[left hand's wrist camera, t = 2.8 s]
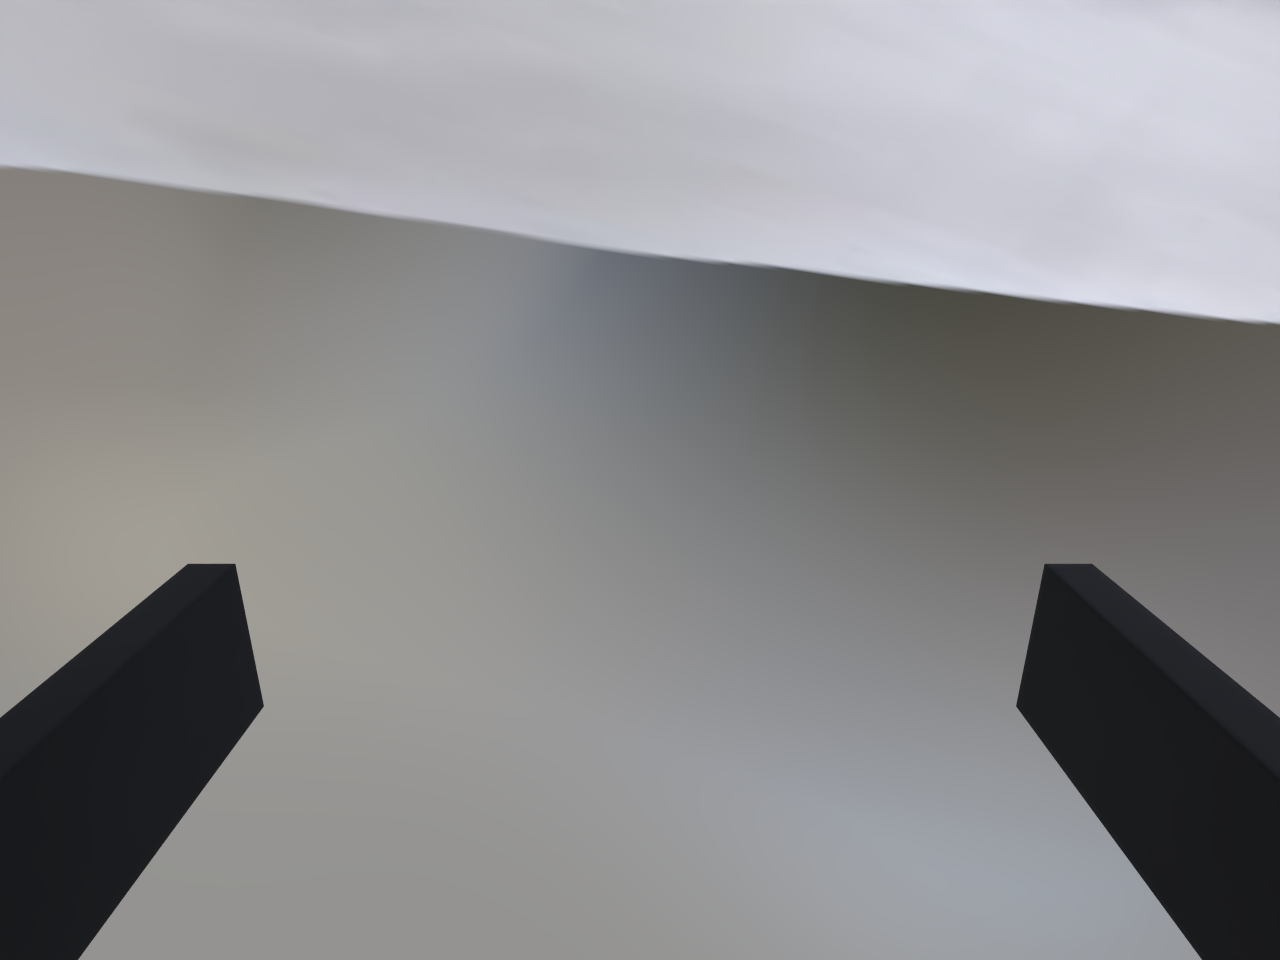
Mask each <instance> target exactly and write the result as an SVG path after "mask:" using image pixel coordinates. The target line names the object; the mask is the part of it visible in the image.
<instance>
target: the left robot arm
mask: <svg viewBox="0 0 1280 960" xmlns="http://www.w3.org/2000/svg"><path fill="white" fill-rule="evenodd" d="M263 707H264V705H263V700H262V695H261V690H260V685H259V680H258V675H257V670H256V665H255V660H254V655H253V650H252V645H251V640H250V635H249V630H248V625H247V620H246V615H245V610H244V605H243V600H242V595H241V590H240V585H239V580H238V575H237V570H236V565H235V564H187V565H186V566H185V567H184V568H182V569H181V570H180V571H179V572H178V573H176V574H175V575H174V576H173V577H171V578H170V579H169V580H168V581H167V582H165V583H164V584H163V585H162V586H161V587H159V588H158V589H157V590H156V591H154V592H153V593H152V594H151V595H150V596H148V597H147V598H146V599H145V600H143V601H142V602H141V603H140V604H139V605H137V606H136V607H135V608H134V609H132V610H131V611H130V612H129V613H128V614H126V615H125V616H124V617H123V618H121V619H120V620H119V621H118V622H117V623H115V624H114V625H113V626H112V627H110V628H109V629H108V630H107V631H106V632H104V633H103V634H102V635H101V636H99V637H98V638H97V639H96V640H95V641H93V642H92V643H91V644H90V645H89V646H87V647H86V648H85V649H84V650H82V651H81V652H80V653H79V654H78V655H76V656H75V657H74V658H73V659H71V660H70V661H69V662H68V663H67V664H65V665H64V666H63V667H62V668H60V669H59V670H58V671H57V672H56V673H54V674H53V675H52V676H51V677H50V678H48V679H47V680H46V681H45V682H43V683H42V684H41V685H40V686H39V687H37V688H36V689H35V690H34V691H32V692H31V693H30V694H29V695H28V696H26V697H25V698H24V699H23V700H21V701H20V702H19V703H18V704H17V705H15V706H14V707H13V708H12V709H11V710H9V711H8V712H7V713H6V714H4V715H3V716H2V717H1V718H0V960H78V959H79V958H80V956H81V955H82V953H83V952H84V951H85V949H86V948H87V947H88V945H89V944H90V942H91V941H92V940H93V938H94V937H95V936H96V934H97V933H98V932H99V930H100V929H101V927H102V926H103V925H104V923H105V922H106V921H107V919H108V918H109V917H110V915H111V914H112V913H113V911H114V910H115V908H116V907H117V906H118V904H119V903H120V902H121V900H122V899H123V897H124V896H125V895H126V893H127V892H128V891H129V889H130V888H131V887H132V885H133V884H134V883H135V881H136V880H137V878H138V877H139V876H140V874H141V873H142V872H143V870H144V869H145V867H146V866H147V865H148V863H149V862H150V861H151V859H152V858H153V857H154V855H155V854H156V853H157V851H158V850H159V848H160V847H161V846H162V844H163V843H164V842H165V840H166V839H167V838H168V836H169V835H170V833H171V832H172V831H173V829H174V828H175V827H176V825H177V824H178V823H179V821H180V820H181V818H182V817H183V816H184V814H185V813H186V812H187V810H188V809H189V808H190V806H191V805H192V803H193V802H194V801H195V799H196V798H197V797H198V795H199V794H200V792H201V791H202V790H203V788H204V787H205V786H206V784H207V783H208V782H209V780H210V779H211V778H212V776H213V775H214V773H215V772H216V771H217V769H218V768H219V767H220V765H221V764H222V763H223V761H224V760H225V758H226V757H227V756H228V754H229V753H230V752H231V750H232V749H233V748H234V746H235V745H236V743H237V742H238V741H239V739H240V738H241V737H242V735H243V734H244V733H245V731H246V730H247V728H248V727H249V726H250V724H251V723H252V722H253V720H254V719H255V718H256V716H257V715H258V713H259V712H260V711H261V709H262V708H263ZM1016 707H1017V708H1018V709H1019V711H1020V712H1021V713H1022V715H1023V716H1024V718H1025V719H1026V720H1027V722H1028V723H1029V724H1030V726H1031V727H1032V728H1033V730H1034V731H1035V733H1036V734H1037V735H1038V737H1039V738H1040V739H1041V741H1042V742H1043V743H1044V745H1045V746H1046V748H1047V749H1048V750H1049V752H1050V753H1051V754H1052V756H1053V757H1054V758H1055V760H1056V761H1057V763H1058V764H1059V765H1060V767H1061V768H1062V769H1063V771H1064V772H1065V773H1066V775H1067V776H1068V778H1069V779H1070V780H1071V782H1072V783H1073V784H1074V786H1075V787H1076V788H1077V790H1078V791H1079V793H1080V794H1081V795H1082V797H1083V798H1084V799H1085V801H1086V802H1087V803H1088V805H1089V806H1090V808H1091V809H1092V810H1093V812H1094V813H1095V814H1096V816H1097V817H1098V818H1099V820H1100V821H1101V823H1102V824H1103V825H1104V827H1105V828H1106V829H1107V831H1108V832H1109V833H1110V835H1111V836H1112V838H1113V839H1114V840H1115V842H1116V843H1117V844H1118V846H1119V847H1120V848H1121V850H1122V851H1123V853H1124V854H1125V855H1126V857H1127V858H1128V859H1129V861H1130V862H1131V863H1132V865H1133V866H1134V868H1135V869H1136V870H1137V872H1138V873H1139V874H1140V876H1141V877H1142V878H1143V880H1144V881H1145V882H1146V884H1147V885H1148V887H1149V888H1150V889H1151V891H1152V892H1153V893H1154V895H1155V896H1156V898H1157V899H1158V900H1159V902H1160V903H1161V904H1162V906H1163V907H1164V908H1165V910H1166V911H1167V913H1168V914H1169V915H1170V917H1171V918H1172V919H1173V921H1174V922H1175V923H1176V925H1177V926H1178V928H1179V929H1180V930H1181V932H1182V933H1183V934H1184V936H1185V937H1186V938H1187V940H1188V941H1189V943H1190V944H1191V945H1192V947H1193V948H1194V949H1195V951H1196V952H1197V953H1198V955H1199V956H1200V958H1201V959H1202V960H1280V718H1279V717H1278V716H1277V715H1276V714H1274V713H1273V712H1272V711H1271V710H1269V709H1268V708H1267V707H1266V706H1265V705H1263V704H1262V703H1261V702H1260V701H1258V700H1257V699H1256V698H1255V697H1254V696H1252V695H1251V694H1250V693H1249V692H1248V691H1246V690H1245V689H1244V688H1243V687H1241V686H1240V685H1239V684H1238V683H1237V682H1235V681H1234V680H1233V679H1232V678H1231V677H1229V676H1228V675H1227V674H1226V673H1224V672H1223V671H1222V670H1221V669H1220V668H1218V667H1217V666H1216V665H1215V664H1213V663H1212V662H1211V661H1210V660H1209V659H1207V658H1206V657H1205V656H1204V655H1202V654H1201V653H1200V652H1199V651H1198V650H1196V649H1195V648H1194V647H1193V646H1191V645H1190V644H1189V643H1188V642H1187V641H1185V640H1184V639H1183V638H1182V637H1181V636H1179V635H1178V634H1177V633H1176V632H1174V631H1173V630H1172V629H1171V628H1170V627H1168V626H1167V625H1166V624H1165V623H1163V622H1162V621H1161V620H1160V619H1159V618H1157V617H1156V616H1155V615H1154V614H1152V613H1151V612H1150V611H1149V610H1148V609H1146V608H1145V607H1144V606H1143V605H1141V604H1140V603H1139V602H1138V601H1137V600H1135V599H1134V598H1133V597H1132V596H1131V595H1129V594H1128V593H1127V592H1126V591H1124V590H1123V589H1122V588H1121V587H1119V586H1118V585H1117V584H1116V583H1115V582H1113V581H1112V580H1111V579H1110V578H1109V577H1107V576H1106V575H1105V574H1104V573H1102V572H1101V571H1100V570H1099V569H1098V568H1096V567H1095V566H1094V565H1093V564H1045V565H1044V570H1043V575H1042V580H1041V585H1040V590H1039V595H1038V600H1037V605H1036V610H1035V615H1034V620H1033V625H1032V630H1031V635H1030V640H1029V645H1028V650H1027V655H1026V660H1025V665H1024V670H1023V675H1022V680H1021V685H1020V690H1019V695H1018V700H1017V705H1016Z"/></svg>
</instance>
